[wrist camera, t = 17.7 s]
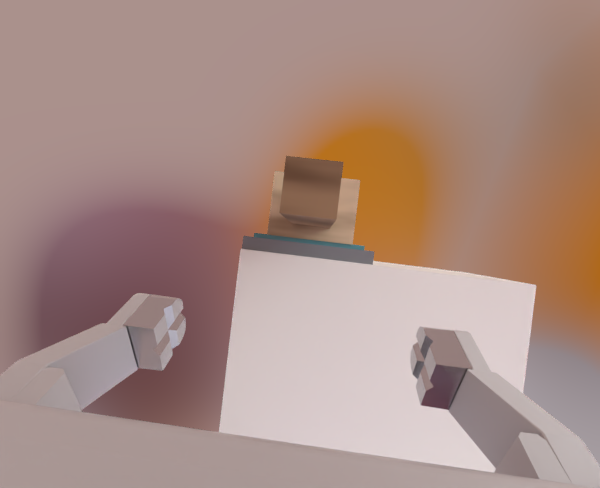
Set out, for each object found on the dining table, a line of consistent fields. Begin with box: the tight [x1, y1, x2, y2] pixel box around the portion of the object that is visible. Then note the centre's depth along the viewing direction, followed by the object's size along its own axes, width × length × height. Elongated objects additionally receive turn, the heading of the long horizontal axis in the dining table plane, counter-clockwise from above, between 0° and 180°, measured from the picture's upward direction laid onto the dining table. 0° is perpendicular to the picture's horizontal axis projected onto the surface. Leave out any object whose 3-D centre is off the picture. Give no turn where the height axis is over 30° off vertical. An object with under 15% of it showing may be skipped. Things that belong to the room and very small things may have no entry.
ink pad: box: [242, 233, 374, 265], centre depth 33 cm, size 12×11×2 cm
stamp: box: [267, 156, 360, 245], centre depth 28 cm, size 18×8×6 cm, turn 177°
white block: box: [219, 249, 536, 473], centre depth 33 cm, size 26×12×24 cm, turn 87°
